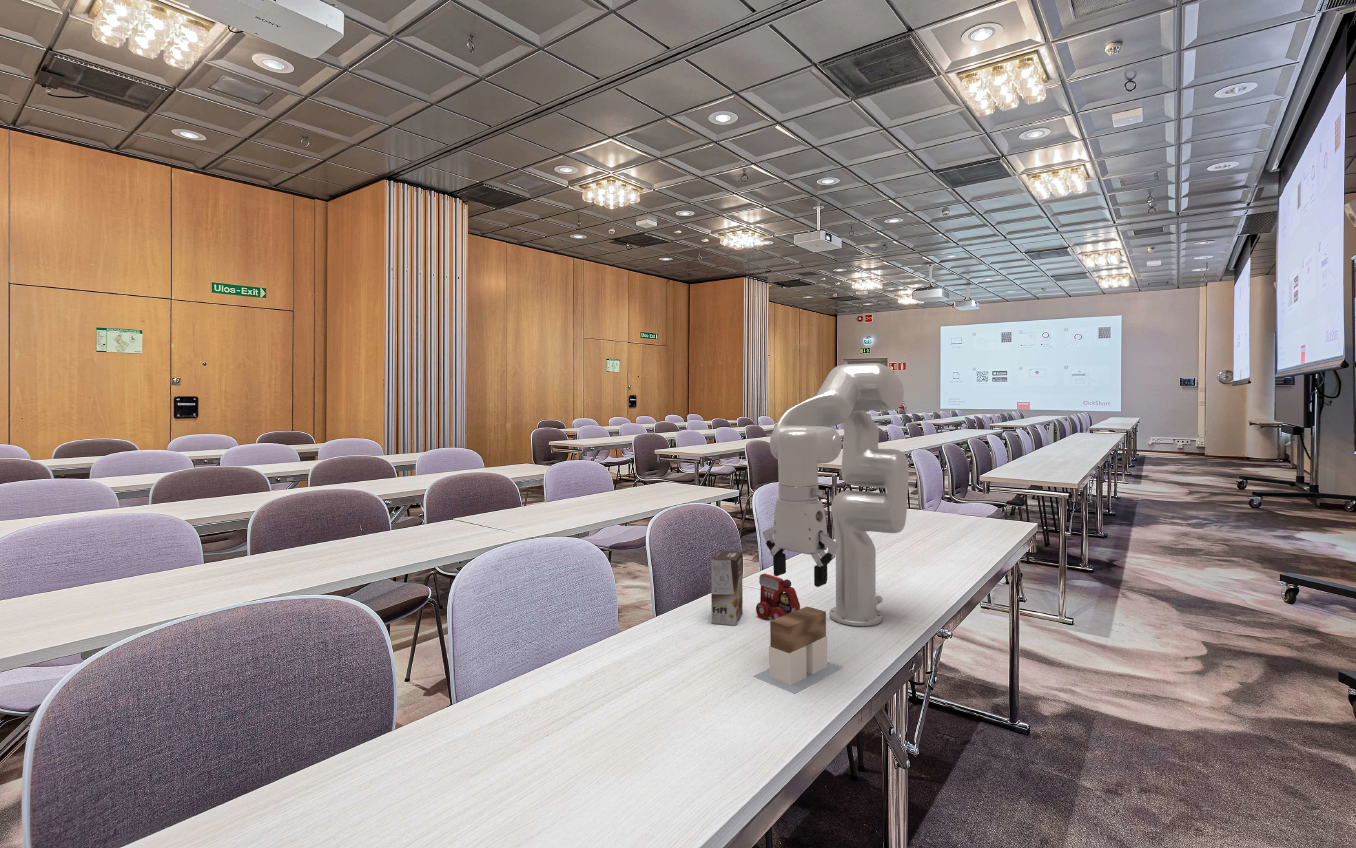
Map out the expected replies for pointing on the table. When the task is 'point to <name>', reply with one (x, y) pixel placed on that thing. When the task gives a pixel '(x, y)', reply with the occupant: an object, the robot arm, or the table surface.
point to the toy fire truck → (776, 597)
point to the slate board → (802, 683)
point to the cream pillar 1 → (787, 665)
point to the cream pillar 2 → (816, 656)
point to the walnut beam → (797, 629)
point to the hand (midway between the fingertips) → (799, 579)
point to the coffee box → (726, 587)
